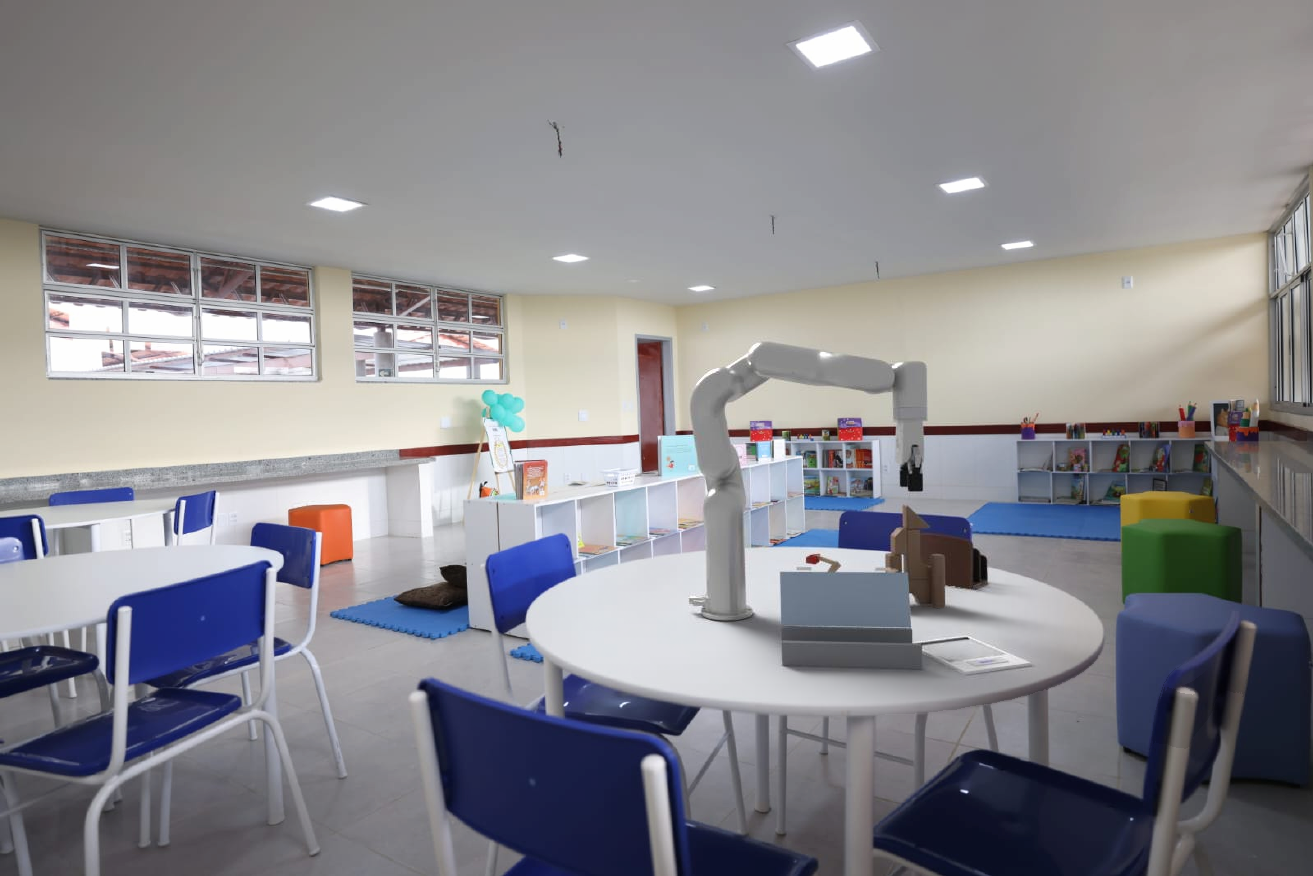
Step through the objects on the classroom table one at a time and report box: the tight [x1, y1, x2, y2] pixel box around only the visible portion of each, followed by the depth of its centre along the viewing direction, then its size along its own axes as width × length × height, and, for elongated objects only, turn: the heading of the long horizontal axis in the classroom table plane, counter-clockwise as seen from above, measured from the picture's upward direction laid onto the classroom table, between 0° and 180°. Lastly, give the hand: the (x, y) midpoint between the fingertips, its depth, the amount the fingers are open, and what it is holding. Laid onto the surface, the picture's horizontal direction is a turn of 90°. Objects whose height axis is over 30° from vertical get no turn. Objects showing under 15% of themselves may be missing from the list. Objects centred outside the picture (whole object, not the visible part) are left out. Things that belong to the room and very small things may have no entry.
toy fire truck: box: [805, 553, 842, 572], centre depth 197 cm, size 3×14×10 cm, turn 57°
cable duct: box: [780, 625, 923, 670], centre depth 144 cm, size 26×11×4 cm, turn 81°
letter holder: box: [920, 532, 989, 591], centre depth 204 cm, size 10×20×14 cm, turn 43°
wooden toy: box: [884, 504, 946, 609], centre depth 180 cm, size 16×7×25 cm, turn 94°
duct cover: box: [779, 566, 912, 629], centre depth 151 cm, size 26×12×2 cm
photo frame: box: [912, 635, 1032, 676], centre depth 144 cm, size 15×1×18 cm
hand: (911, 489), depth 168 cm, fingers open, 9 cm apart
